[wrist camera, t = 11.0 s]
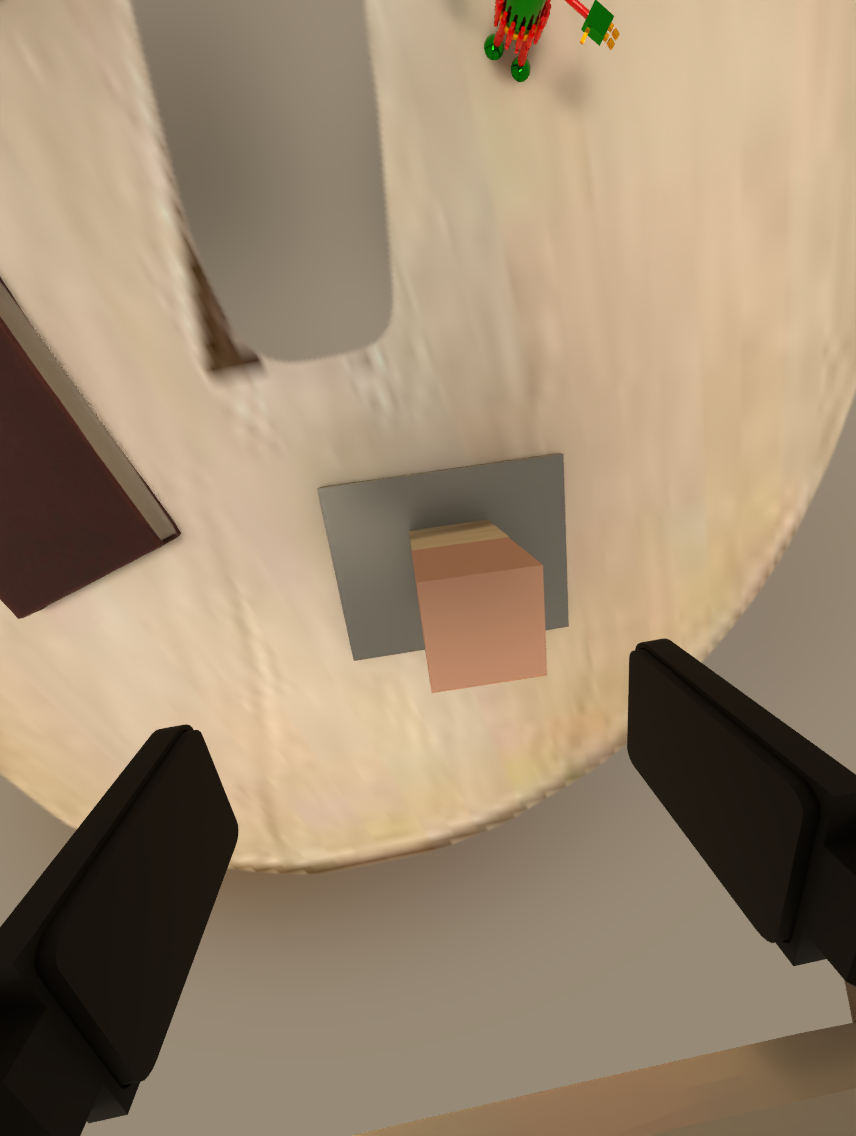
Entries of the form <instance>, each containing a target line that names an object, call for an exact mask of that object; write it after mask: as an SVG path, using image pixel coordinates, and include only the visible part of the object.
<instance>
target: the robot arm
mask: <svg viewBox="0 0 856 1136" xmlns="http://www.w3.org/2000/svg"><path fill="white" fill-rule="evenodd" d="M627 749H628V754H629V757H630V760H631V762H632V764H633V765H634V767H635V768H636V769H637V771H638V772H639V773H640V775H641V776H642V777H643V779H644V780H645V781H646V783H647V784H648V785H649V787H650V788H651V789H652V791H653V792H654V794H655V795H656V796H657V798H658V799H659V800H660V802H661V803H662V804H663V805H664V807H665V808H666V810H667V811H668V812H669V813H670V815H671V816H672V818H673V819H674V820H675V822H676V823H677V824H678V826H679V827H680V828H681V830H682V831H683V832H684V834H685V835H686V836H687V838H688V839H689V840H690V842H691V843H692V844H693V846H694V847H695V848H696V850H697V851H698V852H699V854H700V855H701V856H702V858H703V859H704V860H705V862H706V863H707V864H708V866H709V867H710V869H711V870H712V871H713V872H714V874H715V875H716V877H717V878H718V879H719V880H720V882H721V883H722V885H723V886H724V887H725V889H726V890H727V891H728V892H729V894H730V895H731V897H732V898H733V899H734V901H735V902H736V903H737V905H738V906H739V907H740V909H741V910H742V911H743V913H744V914H745V915H746V917H747V918H748V919H749V921H750V922H751V923H752V925H753V926H754V927H755V929H756V930H757V931H758V932H759V933H760V935H761V936H762V937H763V938H764V939H766V940H767V941H769V942H771V943H774V942H776V944H777V945H778V946H779V948H780V949H781V950H782V952H783V953H784V954H785V956H786V957H787V958H788V960H789V961H790V962H791V963H792V965H793V966H797V965H801V964H806V963H810V962H814V961H819V960H824V959H827V960H828V961H829V962H830V963H831V964H832V965H833V966H834V968H835V969H836V970H837V971H838V973H839V974H840V975H841V976H842V977H843V978H844V980H845V985H846V991H847V996H848V1001H849V1006H850V1011H851V1016H852V1022H853V1023H850V1024H845V1025H841V1026H835V1027H830V1028H825V1029H820V1030H815V1031H810V1032H805V1033H799V1034H795V1035H791V1036H786V1037H782V1038H777V1039H773V1040H768V1041H764V1042H760V1043H755V1044H750V1045H746V1046H741V1047H737V1048H732V1049H728V1050H723V1051H720V1052H715V1053H710V1054H705V1055H701V1056H697V1057H692V1058H688V1059H683V1060H679V1061H674V1062H670V1063H665V1064H661V1065H656V1066H652V1067H648V1068H643V1069H639V1070H634V1071H630V1072H625V1073H621V1074H617V1075H612V1076H608V1077H603V1078H598V1079H594V1080H590V1081H586V1082H581V1083H577V1084H573V1085H568V1086H564V1087H559V1088H555V1089H550V1090H546V1091H542V1092H538V1093H533V1094H529V1095H525V1096H520V1097H516V1098H511V1099H507V1100H503V1101H498V1102H494V1103H490V1104H485V1105H481V1106H477V1107H472V1108H468V1109H464V1110H459V1111H455V1112H451V1113H446V1114H442V1115H438V1116H433V1117H429V1118H425V1119H421V1120H416V1121H412V1122H408V1123H404V1124H399V1125H395V1126H390V1127H386V1128H382V1129H378V1130H373V1131H369V1132H364V1133H360V1134H356V1135H352V1136H856V775H855V774H854V773H853V772H851V771H850V770H849V769H847V768H846V767H844V766H843V765H842V764H840V763H839V762H837V761H836V760H835V759H833V758H832V757H831V756H829V755H828V754H826V753H825V752H824V751H822V750H821V749H820V748H818V747H817V746H815V745H814V744H813V743H811V742H810V741H809V740H807V739H806V738H804V737H803V736H802V735H800V734H799V733H797V732H796V731H795V730H793V729H792V728H791V727H789V726H788V725H786V724H785V723H784V722H782V721H781V720H780V719H778V718H777V717H775V716H774V715H773V714H771V713H770V712H768V711H767V710H766V709H764V708H763V707H762V706H760V705H759V704H757V703H756V702H755V701H753V700H752V699H751V698H749V697H748V696H746V695H745V694H744V693H742V692H741V691H739V690H738V689H737V688H735V687H734V686H732V685H731V684H730V683H728V682H727V681H726V680H724V679H723V678H722V677H720V676H719V675H717V674H716V673H715V672H713V671H712V670H710V669H709V668H708V667H706V666H705V665H704V664H702V663H701V662H699V661H698V660H697V659H695V658H694V657H693V656H691V655H690V654H688V653H687V652H686V651H684V650H683V649H681V648H680V647H679V646H677V645H676V644H675V643H673V642H672V641H670V640H668V639H658V640H653V641H647V642H642V643H639V644H637V646H636V649H635V651H632V652H631V653H630V657H629V695H628V737H627ZM237 839H238V824H237V821H236V818H235V816H234V813H233V811H232V808H231V806H230V803H229V801H228V798H227V796H226V793H225V791H224V788H223V786H222V783H221V781H220V778H219V776H218V773H217V771H216V768H215V766H214V763H213V761H212V758H211V756H210V753H209V751H208V748H207V746H206V743H205V741H204V738H203V736H202V734H201V732H200V731H199V730H193V728H192V727H191V726H190V725H180V726H174V727H169V728H163V729H159V730H156V731H155V732H154V733H153V734H152V735H151V736H150V737H149V739H148V740H147V741H146V742H145V744H144V745H143V746H142V747H141V749H140V750H139V751H138V753H137V754H136V755H135V756H134V758H133V759H132V760H131V761H130V763H129V764H128V765H127V767H126V768H125V769H124V770H123V772H122V773H121V774H120V775H119V777H118V778H117V779H116V781H115V782H114V783H113V784H112V786H111V787H110V788H109V789H108V791H107V792H106V793H105V795H104V796H103V797H102V798H101V800H100V801H99V802H98V803H97V805H96V806H95V807H94V809H93V810H92V811H91V812H90V814H89V815H88V816H87V817H86V819H85V820H84V821H83V823H82V824H81V825H80V826H79V828H78V829H77V830H76V832H75V833H74V834H73V835H72V837H71V838H70V839H69V841H68V842H67V843H66V844H65V846H64V847H63V848H62V849H61V851H60V852H59V853H58V855H57V856H56V857H55V858H54V860H53V861H52V862H51V863H50V865H49V866H48V867H47V868H46V870H45V871H44V872H43V874H42V875H41V876H40V877H39V879H38V880H37V881H36V883H35V884H34V885H33V886H32V888H31V889H30V890H29V891H28V893H27V894H26V895H25V896H24V898H23V899H22V900H21V902H20V903H19V904H18V905H17V907H16V908H15V909H14V910H13V912H12V913H11V914H10V916H9V917H8V918H7V919H6V921H5V922H4V923H3V924H2V926H1V927H0V1136H80V1135H81V1132H82V1130H83V1128H84V1126H85V1123H86V1121H87V1122H88V1123H92V1122H97V1121H101V1120H105V1119H110V1118H114V1117H119V1116H123V1115H128V1112H129V1110H130V1107H131V1104H132V1102H133V1099H134V1097H135V1094H136V1091H137V1089H138V1086H139V1083H140V1082H141V1081H143V1080H145V1079H146V1078H147V1077H148V1076H149V1074H150V1072H151V1071H152V1069H153V1067H154V1065H155V1063H156V1060H157V1058H158V1055H159V1052H160V1049H161V1047H162V1044H163V1041H164V1039H165V1036H166V1033H167V1030H168V1028H169V1025H170V1022H171V1020H172V1017H173V1014H174V1012H175V1009H176V1006H177V1003H178V1001H179V998H180V995H181V993H182V990H183V987H184V984H185V982H186V979H187V976H188V973H189V970H190V968H191V965H192V963H193V960H194V957H195V954H196V952H197V949H198V946H199V944H200V941H201V938H202V935H203V933H204V930H205V927H206V925H207V922H208V919H209V916H210V913H211V911H212V908H213V906H214V903H215V900H216V897H217V895H218V892H219V889H220V886H221V884H222V881H223V878H224V875H225V873H226V870H227V868H228V865H229V862H230V859H231V857H232V854H233V851H234V849H235V846H236V843H237Z"/></svg>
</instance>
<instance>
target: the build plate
mask: <svg viewBox="0 0 856 1136" xmlns="http://www.w3.org/2000/svg"><path fill="white" fill-rule="evenodd" d="M317 490H318V495H319V500H320V504H321V509H322V514H323V518H324V523H325V528H326V532H327V537H328V542H329V547H330V551H331V556H332V561H333V565H334V570H335V575H336V579H337V584H338V589H339V593H340V598H341V603H342V607H343V612H344V617H345V622H346V626H347V631H348V636H349V640H350V645H351V650H352V654H353V659H354V661H356V660H362V659H368V658H375V657H381V656H387V655H394V654H400V653H406V652H412V651H419V650H425V645H424V639H423V632H422V624H421V617H420V610H419V602H418V595H417V588H416V580H415V573H414V566H413V559H412V550H411V543H410V537H409V531H412V530H419V529H426V528H433V527H439V526H446V525H453V524H460V523H466V522H473V521H480V520H487V519H488V520H489V521H490V522H491V523H493V524H494V525H495V526H496V527H498V528H499V529H500V530H501V531H503V532H504V533H505V534H506V535H508V536H509V538H510V539H511V540H513V541H514V542H515V543H516V544H518V545H519V546H520V547H521V548H523V549H524V550H525V551H526V552H527V553H529V554H530V555H531V556H532V557H534V558H535V559H536V560H537V561H539V562H540V563H541V564H542V565H543V579H544V607H545V630H550V629H556V628H562V627H569V625H568V592H567V560H566V527H565V495H564V462H563V454H559V453H558V454H551V455H544V456H537V457H530V458H523V459H516V460H509V461H502V462H495V463H488V464H480V465H473V466H466V467H459V468H452V469H445V470H438V471H431V472H424V473H417V474H410V475H403V476H396V477H389V478H382V479H375V480H368V481H361V482H354V483H347V484H340V485H333V486H326V487H320V488H318V489H317Z"/></svg>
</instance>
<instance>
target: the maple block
mask: <svg viewBox="0 0 856 1136" xmlns="http://www.w3.org/2000/svg"><path fill="white" fill-rule="evenodd" d="M409 537H410V543H411V550H419V549H426V548H434V547H441V546H448V545H455V544H463V543H470V542H477V541H484V540H492V539H499V538H506V537H509V536H508V535H506V534H505V533H504V532H503V531H501V530H500V529H499V528H498V527H496V526H495V525H494V524H493V523H491V522H490V521H489V520H488V519H487V520H480V521H473V522H466V523H460V524H453V525H446V526H439V527H433V528H426V529H419V530H412V531H409Z"/></svg>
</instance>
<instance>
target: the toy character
mask: <svg viewBox="0 0 856 1136" xmlns="http://www.w3.org/2000/svg"><path fill="white" fill-rule="evenodd" d="M550 1H551V0H496V1H495V4H496V6H495V16H494V19H495V20H494V26H495V27H497V26H498V22H499V20H500V24H499V28H498V31H497V32H496V34H491V35H489V36H488V37H487V39H486V41H485V44H484V50H485V53H486V55H487V57H488V58H489V59H491V60H498V59H499V58H500V57H501V56H502V54H503V51H504V44H503V39H504V36H505V33H506V34H507V36H506V44H505V49H506V50H507V49H508V48H509V45H510V44H511V42H512V39H513V40H516V44H515V47H516V48H515V54H518V52H519V56H518V57H516V58H515V59H514V61H513V62H512V66H511V73H512V76H513V78H514V79H515V80H516V81H518V82H523V81H525V80H526V79H527V78H528V76H529V74H530V64H529V61H528V59H527V52H528V50H529V47H531V45H532V42H533V43H534V44H535V45H536V44H537V42H538V39H540V36H541V34H542V31H543V28H544V27H545V26H546V23H547V20H548V18H549V15H550V9H551V4H550ZM565 1H566V2H567V3H568V4H569V5H570V6H571V7H572V8H574V9H575V10H576V11H577V12H578V13H579V14H580V15H582V16H583V17H584V18H585V19H586V20H585V22H584V25H583V27H582V29H581V30H582V31H583V32H584V34H583V37H582V39H581V41H580V43H581V44H582V45H583V43H584V41H585V39H586V37H587V35H588V36H589V37H590V38H591V39H592V40H593V41H595V42H596V43H597V44H598V45H599V46H600V44H601V42H602V40H604V41H605V42H606V41H607V39H608V37H609V34H608V33H607V30H608V31H609V32H610V33H611V31H612V29H613V27H614V25H613V24H612V23H611V22H612V20H613V18H614V16H613V15H612V14H611V13H610V12H609V11H608V10H607V9H606V8H605V7H603V6H602V5H601V4H600V3H599V2H598V1H597V0H595V1H594V3H593V6H592V8H591V10H590V11H589V10H588V9H587V8H586V7H585V6H584V5H583V4H582V3H580V2H579V1H578V0H565ZM612 36H613V38H614V39H615V40H616V39H617V38H618V36H619V32H618V30H617V29H616V28H615V29H614V30H613V32H612ZM534 37H535V38H534ZM533 39H534V41H533ZM614 44H615V43H614V41H613V40H612V38H610V39H609V40H608V42H607V45H608V47H609V48H610V50H611V49H612V48H613V47H614ZM519 49H520V51H519Z"/></svg>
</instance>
